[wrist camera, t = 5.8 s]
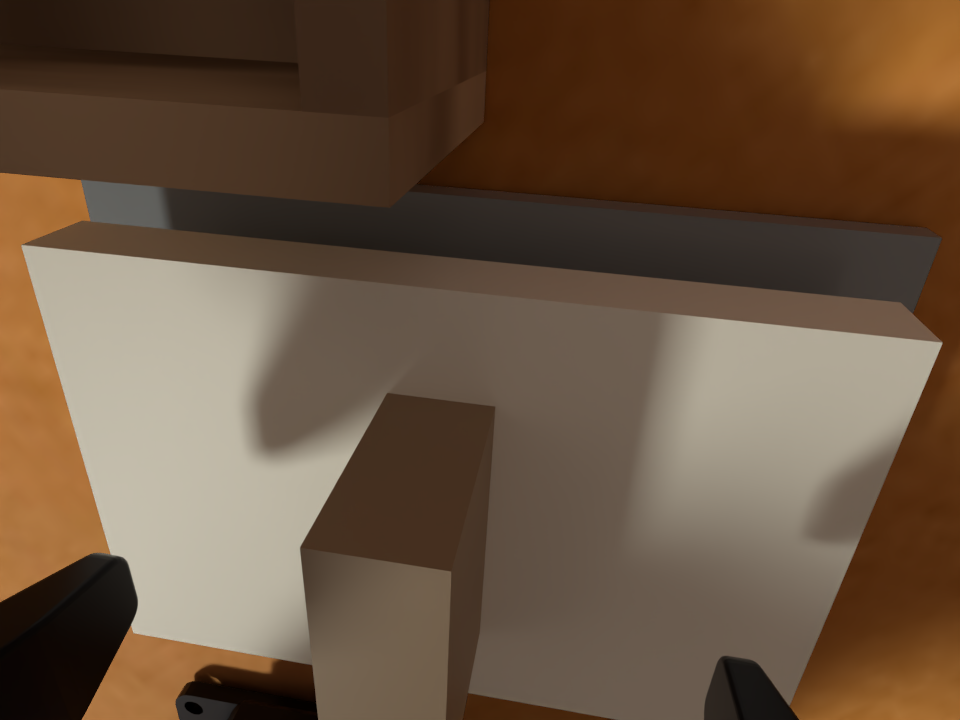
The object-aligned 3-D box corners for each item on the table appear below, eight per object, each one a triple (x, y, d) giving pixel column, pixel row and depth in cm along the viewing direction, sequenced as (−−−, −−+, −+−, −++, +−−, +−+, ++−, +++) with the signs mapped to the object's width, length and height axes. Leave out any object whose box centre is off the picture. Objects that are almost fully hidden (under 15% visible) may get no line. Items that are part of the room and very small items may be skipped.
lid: (872, 276, 9) (1129, 518, 5) (746, 639, 13) (826, 975, 8) (124, 204, 11) (-222, 341, 6) (196, 550, 14) (8, 798, 10)
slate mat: (769, 650, 14) (774, 671, 13) (185, 556, 15) (173, 572, 15) (926, 227, 9) (941, 237, 9) (97, 156, 11) (77, 162, 11)
